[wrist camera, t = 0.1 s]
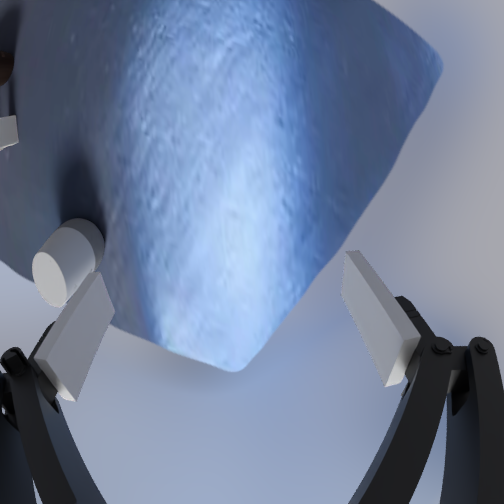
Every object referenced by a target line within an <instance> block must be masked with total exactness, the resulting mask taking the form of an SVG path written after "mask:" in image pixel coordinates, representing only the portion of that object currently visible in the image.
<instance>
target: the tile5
mask: <svg viewBox="0 0 504 504" xmlns="http://www.w3.org/2000/svg"><path fill="white" fill-rule="evenodd" d="M18 142H19V139H18V131H17V123H16V115H13V116H7V117H2V118H0V149H1V148H4V147H7V146H11V145H13V144H16V143H18Z"/></svg>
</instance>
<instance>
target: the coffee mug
mask: <svg viewBox="0 0 504 504" xmlns="http://www.w3.org/2000/svg"><path fill="white" fill-rule="evenodd" d="M13 66H14V59H13V56H12V55H11V54H10V53H7V52H4V51H0V86H2V85H3V84H5V83H6V82H7V80H8V79H9V77H10V75H11V73H12V70H13Z"/></svg>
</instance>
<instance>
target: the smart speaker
mask: <svg viewBox="0 0 504 504" xmlns="http://www.w3.org/2000/svg"><path fill="white" fill-rule="evenodd" d="M104 248H105V246H104V239H103V236H102V234H101V232H100V230H99V229H98V228H97V227H96V226H95V225H94V224H93V223H92V222H90V221H88V220H86V219H81V218H75V219H71V220H68V221H66V222H65V223H63V224H62V225H60V226H59V227H58V228H57V229H56V230H55V231H54V232H53V234H52V235H51V236H50V237H49V239H48V240H47V241H46V242H45V244H44V245H43V246H42V247H41V249H40V250H39V251H38V253H37V254H36V255H35V257H34V260H33V265H32V270H33V278H34V281H35V284H36V286H37V289H38V291H39V293H40V294H41V296H42V297H43V299H44V300H45V301H46V302H47V303H48V304H50V305H51V306H53V307H57V308H59V307H62V306H63V305H64V304H65V303H66V302H67V301H68V299H69V298H70V297H71V296H72V295H73V294H74V293H75V292H76V290H77V289H78V287H79V286H80V285H81V283H82V282H83V280H84V279H85V278H86V276H87V275H88V274H89V273H92V272H94V271H95V270H96V269H97V267H98V266H99V264H100V263H101V261H102V258H103V255H104Z"/></svg>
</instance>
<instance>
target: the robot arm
mask: <svg viewBox="0 0 504 504" xmlns="http://www.w3.org/2000/svg"><path fill="white" fill-rule="evenodd" d="M341 296H342V298H343V300H344V302H345V304H346V306H347V308H348V310H349V312H350V314H351V316H352V318H353V320H354V322H355V324H356V326H357V328H358V330H359V332H360V334H361V337H362V338H363V341H364V343H365V345H366V347H367V349H368V351H369V353H370V356H371V358H372V360H373V362H374V364H375V366H376V368H377V370H378V373H379V375H380V377H381V379H382V382H383V384H384V386H385V387H387V386H391V385H395V384H398V383H401V381H402V379H403V377H404V375H406V377H407V379H408V383H407V385H406V387H405V389H404V391H403V392H402V394H401V396H402V398H401V400H400V403H399V406H398V408H397V411H396V413H395V415H394V418H393V420H392V422H391V425H390V427H389V429H388V431H387V434H386V436H385V438H384V440H383V442H382V444H381V446H380V448H379V450H378V452H377V454H376V456H375V458H374V460H373V462H372V464H371V466H370V467H369V469H368V471H367V473H366V475H365V477H364V478H363V480H362V482H361V483H360V485H359V487H358V489H357V490H356V492H355V493H354V495H353V497H352V498H351V500H350V502H349V503H348V504H409V502H410V500H411V498H412V496H413V493H414V491H415V489H416V487H417V484H418V482H419V480H420V477H421V475H422V472H423V470H424V467H425V464H426V462H427V459H428V457H429V454H430V451H431V448H432V445H433V442H434V439H435V436H436V432H437V429H438V426H439V423H440V419H441V415H442V412H443V408H444V404H445V399H446V395H447V437H446V439H447V440H446V455H445V467H444V477H443V485H442V492H441V498H440V504H504V390H503V384H502V379H501V374H500V370H499V365H498V361H497V357H496V353H495V349H494V347H493V344H492V343H491V342H490V341H489V340H487V339H485V338H483V337H475V338H473V339H472V340H471V341H470V343H469V345H468V346H453V345H452V343H451V342H449V341H448V340H446V339H445V338H442V337H436V336H435V334H434V333H433V332H432V330H431V329H430V327H429V326H428V325H427V323H426V322H425V320H424V319H423V318H422V317H421V316H420V314H419V312H418V311H416V308H415V307H414V305H413V304H412V303H411V302H410V301H409V300H408V299H406V298H405V297H403V296H399V297H394V296H393V295H392V293H391V292H390V291H389V289H388V288H387V287H386V285H385V284H384V282H383V281H382V280H381V278H380V277H379V276H378V275H377V273H376V272H375V270H374V269H373V268H372V267H371V265H370V264H369V263H368V261H367V260H366V259H365V257H364V256H363V255H362V254H361V253H360V251H359V250H357V251H346V253H345V263H344V273H343V282H342V290H341ZM114 313H115V310H114V308H113V305H112V303H111V300H110V297H109V295H108V292H107V289H106V287H105V284H104V281H103V278H102V275H101V273H100V272H92V273H89V274H88V275H87V276H86V278H85V279H84V280H83V282H82V283H81V285H80V286H79V287H78V289H77V290H76V292H75V293H74V295H73V296H72V297H71V299H70V300H69V302H68V303H67V305H66V306H65V308H64V309H63V311H62V312H61V314H60V315H59V317H58V318H57V320H56V321H54V322H53V323H52V324H50V325H49V326H48V327H47V329H46V330H45V332H44V333H43V336H42V337H41V338H40V340H39V342H38V343H37V345H36V346H35V348H34V350H33V351H32V353H31V355H30V356H29V358H28V360H27V358H26V357H25V356H24V354H23V352H22V351H21V349H20V348H18V347H13V348H10V349H9V350H7V351H6V352H5V353H4V354H3V355H2V357H1V359H0V363H1V365H2V366H3V368H4V369H5V370H6V372H7V373H1V371H0V504H37V503H36V498H35V492H34V486H33V480H34V483H35V486H36V488H37V491H38V493H39V496H40V498H41V501H42V503H43V504H106V502H105V500H104V498H103V497H102V495H101V493H100V491H99V490H98V488H97V486H96V485H95V483H94V481H93V479H92V477H91V475H90V473H89V471H88V470H87V468H86V465H85V463H84V461H83V459H82V457H81V455H80V453H79V451H78V449H77V447H76V445H75V442H74V440H73V438H72V435H71V433H70V430H69V428H68V425H67V423H66V420H65V418H64V415H63V412H62V410H61V407H60V404H59V401H58V400H57V398H56V397H55V396H56V394H57V392H58V393H59V394H60V395H61V396H62V398H63V399H65V400H70V401H77V399H78V396H79V394H80V391H81V388H82V386H83V383H84V381H85V378H86V376H87V373H88V371H89V368H90V366H91V364H92V361H93V359H94V357H95V354H96V352H97V350H98V347H99V345H100V343H101V340H102V338H103V336H104V334H105V332H106V330H107V328H108V325H109V323H110V321H111V319H112V317H113V315H114ZM2 407H3V408H4V409H5V415H4V414H3V413H2ZM32 477H33V479H32Z"/></svg>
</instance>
